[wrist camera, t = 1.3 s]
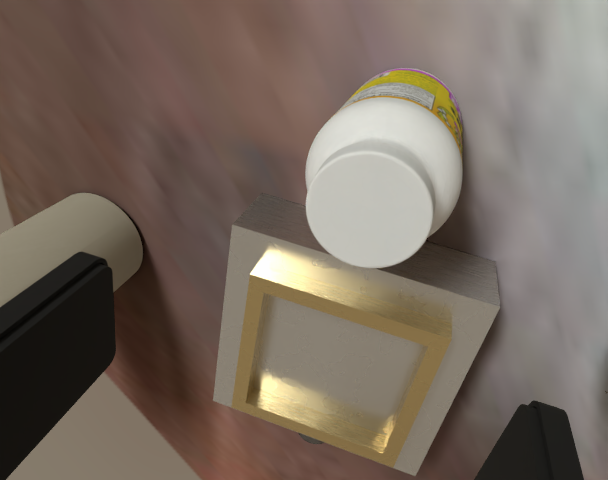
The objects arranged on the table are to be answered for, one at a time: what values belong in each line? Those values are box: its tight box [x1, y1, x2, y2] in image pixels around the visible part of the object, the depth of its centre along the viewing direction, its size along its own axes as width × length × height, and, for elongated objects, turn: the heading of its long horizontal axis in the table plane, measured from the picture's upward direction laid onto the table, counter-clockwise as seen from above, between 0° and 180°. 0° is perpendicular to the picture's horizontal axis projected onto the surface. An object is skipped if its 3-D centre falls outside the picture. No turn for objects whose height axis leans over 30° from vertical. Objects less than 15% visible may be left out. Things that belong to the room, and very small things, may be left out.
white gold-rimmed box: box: [213, 193, 500, 476], centre depth 34 cm, size 16×18×6 cm
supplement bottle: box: [306, 68, 463, 268], centre depth 23 cm, size 7×7×13 cm
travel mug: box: [0, 193, 143, 307], centre depth 31 cm, size 8×8×18 cm
